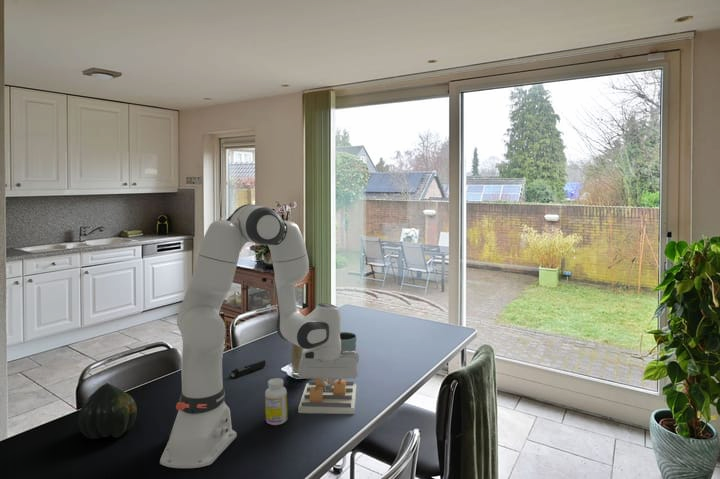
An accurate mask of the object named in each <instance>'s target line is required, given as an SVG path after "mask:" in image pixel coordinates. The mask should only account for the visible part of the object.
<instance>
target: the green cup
mask: <svg viewBox="0 0 720 479" xmlns="http://www.w3.org/2000/svg"><path fill="white" fill-rule="evenodd" d="M340 339H341V351H354V352H356V350H357V334H356V333H353V332H348V331H343V332H342V331H341V332H340ZM356 353H357V352H356ZM354 354H355V353H354Z"/></svg>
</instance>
